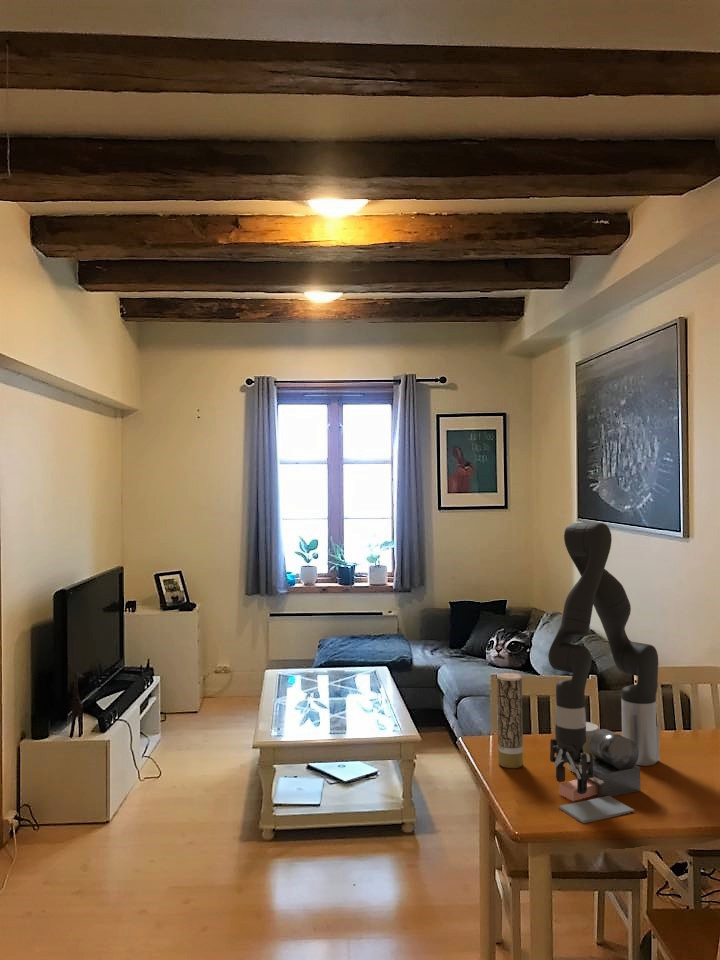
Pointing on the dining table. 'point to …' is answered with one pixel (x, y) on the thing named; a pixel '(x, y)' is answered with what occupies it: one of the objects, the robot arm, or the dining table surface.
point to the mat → (596, 809)
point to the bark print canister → (510, 720)
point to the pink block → (571, 790)
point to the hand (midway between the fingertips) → (571, 787)
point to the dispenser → (614, 764)
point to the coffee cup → (587, 740)
